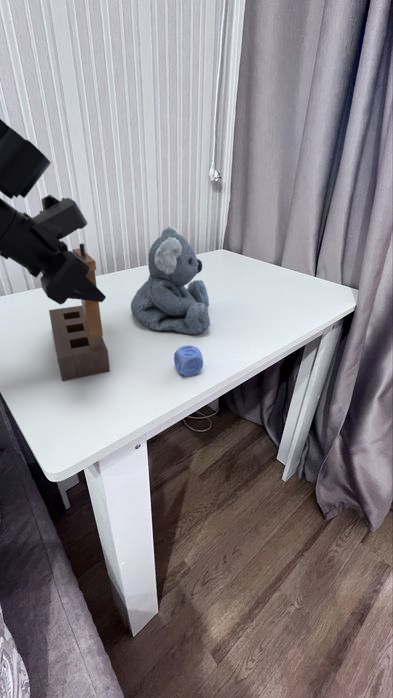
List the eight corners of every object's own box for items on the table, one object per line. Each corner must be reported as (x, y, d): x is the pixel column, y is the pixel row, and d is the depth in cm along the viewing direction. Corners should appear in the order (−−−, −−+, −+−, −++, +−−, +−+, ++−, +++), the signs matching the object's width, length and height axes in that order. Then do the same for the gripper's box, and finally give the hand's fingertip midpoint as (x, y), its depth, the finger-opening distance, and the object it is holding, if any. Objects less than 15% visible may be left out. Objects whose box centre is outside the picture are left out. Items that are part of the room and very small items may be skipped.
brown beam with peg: (95, 346, 54) (81, 251, 46) (82, 327, 59) (67, 238, 51) (108, 342, 55) (96, 249, 47) (94, 324, 60) (82, 237, 52)
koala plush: (210, 338, 69) (217, 243, 59) (124, 335, 69) (115, 239, 58) (208, 303, 84) (213, 222, 73) (137, 300, 83) (131, 219, 73)
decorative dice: (193, 361, 62) (194, 343, 60) (202, 373, 59) (203, 354, 57) (173, 365, 60) (173, 347, 58) (181, 378, 57) (182, 359, 55)
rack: (62, 381, 55) (56, 359, 53) (53, 329, 70) (48, 309, 67) (110, 371, 58) (107, 349, 56) (92, 323, 73) (89, 304, 70)
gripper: (58, 186, 36) (154, 270, 47) (27, 169, 49) (107, 239, 60) (-4, 268, 36) (105, 332, 47) (-18, 230, 49) (70, 287, 60)
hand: (97, 292), depth 54 cm, fingers closed on brown beam with peg, 6 cm apart
